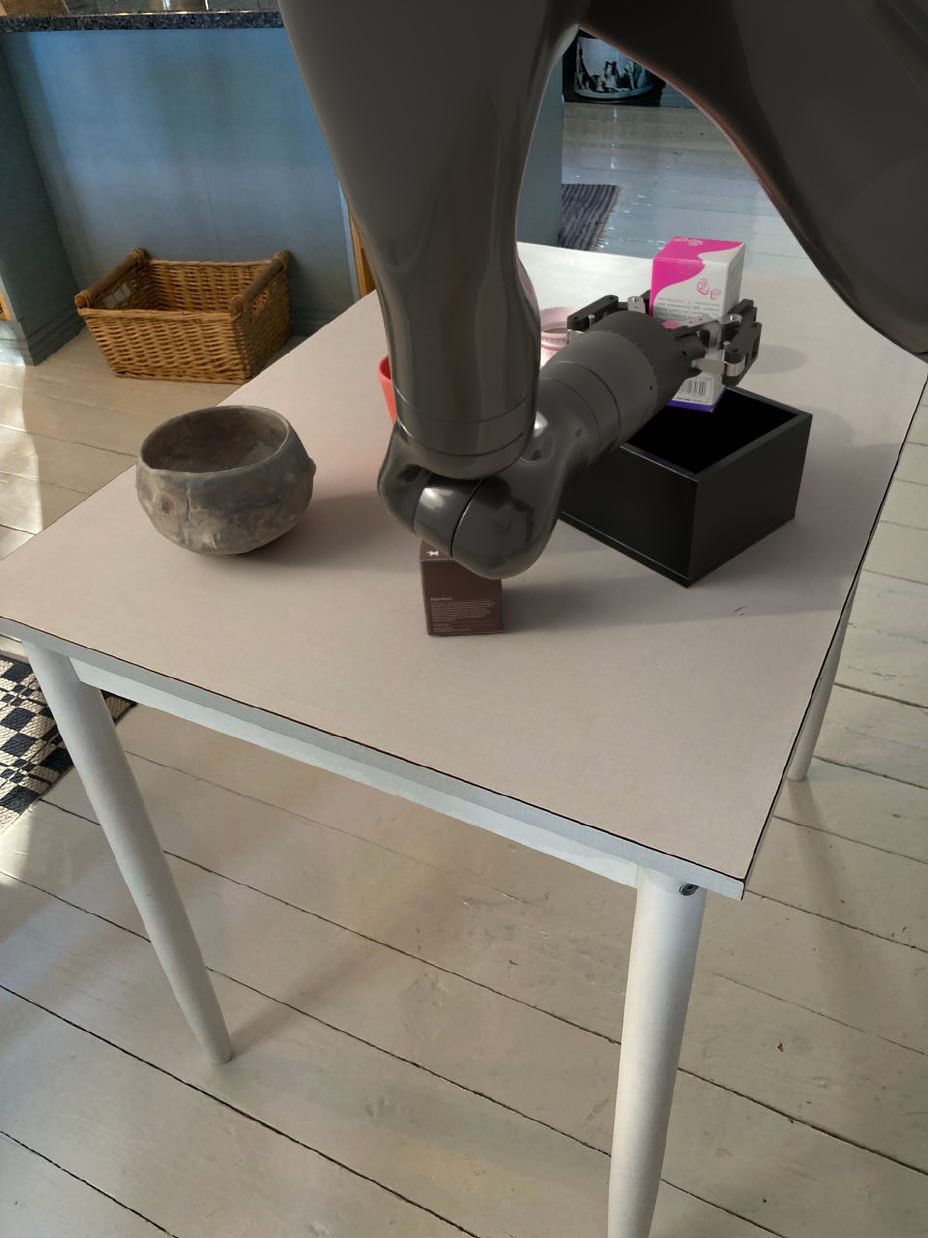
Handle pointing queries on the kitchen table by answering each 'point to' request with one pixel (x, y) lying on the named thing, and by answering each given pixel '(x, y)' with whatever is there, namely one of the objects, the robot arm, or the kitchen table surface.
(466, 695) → the kitchen table surface
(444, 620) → the box
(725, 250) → the supplement box
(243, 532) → the bowl
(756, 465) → the black storage bin
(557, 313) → the teacup
